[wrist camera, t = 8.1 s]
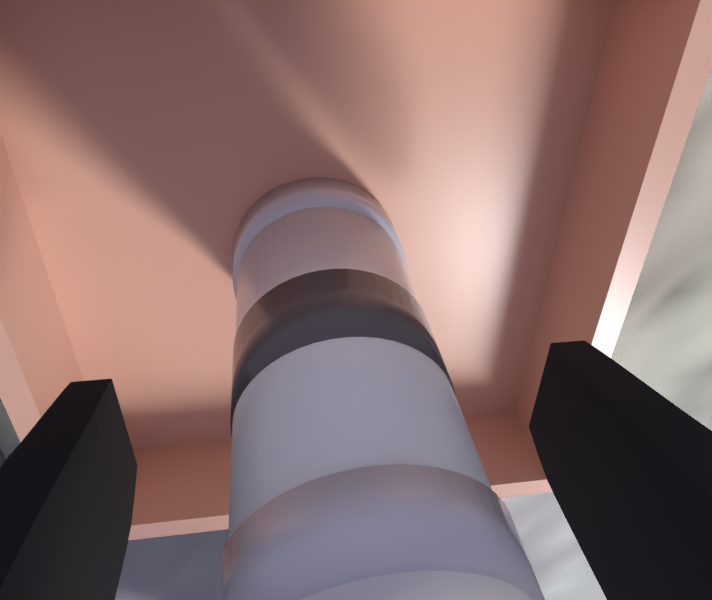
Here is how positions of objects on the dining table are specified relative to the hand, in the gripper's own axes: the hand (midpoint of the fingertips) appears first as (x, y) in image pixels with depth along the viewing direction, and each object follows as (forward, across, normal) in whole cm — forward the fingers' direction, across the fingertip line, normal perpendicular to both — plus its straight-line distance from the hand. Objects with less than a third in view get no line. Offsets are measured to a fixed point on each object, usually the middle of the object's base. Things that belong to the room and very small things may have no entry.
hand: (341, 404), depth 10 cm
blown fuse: (+5, 0, 0) cm, 5 cm away
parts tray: (+5, 0, 0) cm, 5 cm away
